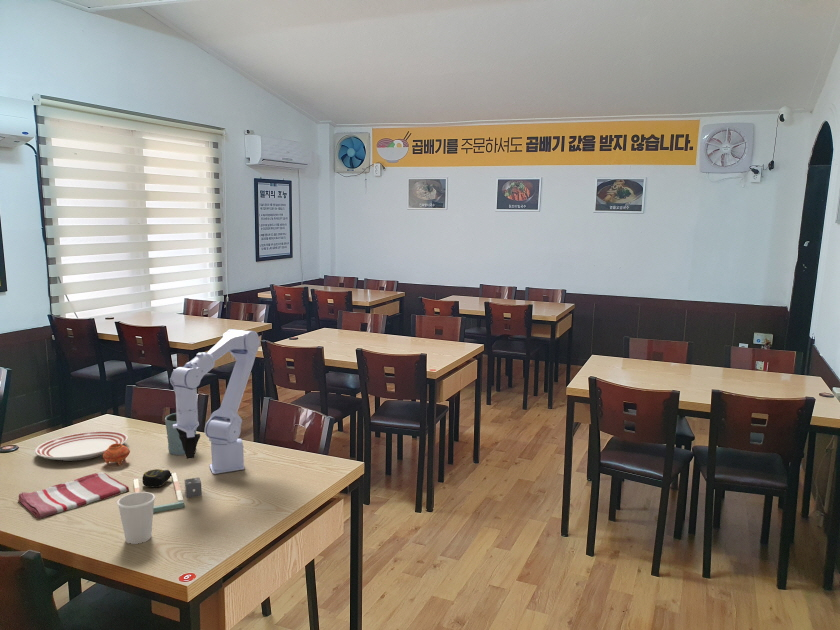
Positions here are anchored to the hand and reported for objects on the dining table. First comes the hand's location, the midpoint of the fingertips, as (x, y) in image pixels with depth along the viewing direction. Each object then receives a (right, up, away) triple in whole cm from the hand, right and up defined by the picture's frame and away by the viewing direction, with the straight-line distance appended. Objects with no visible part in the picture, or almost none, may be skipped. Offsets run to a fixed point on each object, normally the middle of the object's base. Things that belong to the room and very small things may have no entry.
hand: (189, 454), depth 182 cm
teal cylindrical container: (-13, -6, +29) cm, 32 cm away
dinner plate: (-46, -6, +29) cm, 54 cm away
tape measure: (-10, -10, +2) cm, 14 cm away
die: (+3, -10, -5) cm, 12 cm away
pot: (-29, -7, +18) cm, 35 cm away
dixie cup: (-1, -14, -30) cm, 33 cm away
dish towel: (-30, -11, -7) cm, 32 cm away
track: (-7, -10, -5) cm, 13 cm away
